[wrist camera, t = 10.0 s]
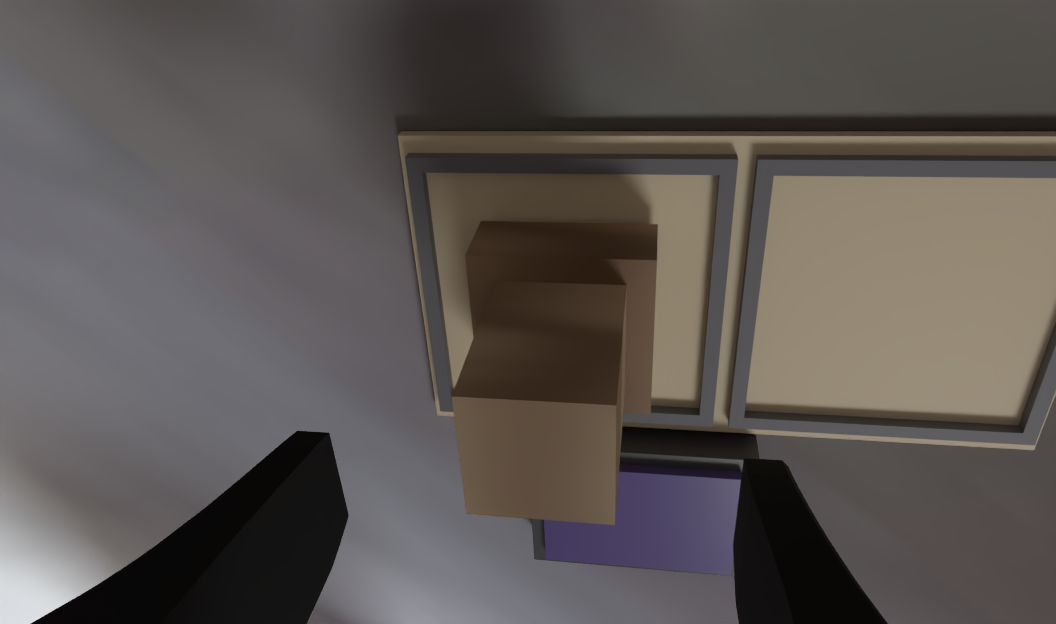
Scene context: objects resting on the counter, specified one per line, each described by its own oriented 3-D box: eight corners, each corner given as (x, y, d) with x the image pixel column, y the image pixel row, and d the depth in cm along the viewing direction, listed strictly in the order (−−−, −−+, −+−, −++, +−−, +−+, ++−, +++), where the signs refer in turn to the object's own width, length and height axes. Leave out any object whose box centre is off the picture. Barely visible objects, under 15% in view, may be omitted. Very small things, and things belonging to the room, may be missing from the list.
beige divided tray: (440, 408, 22) (434, 422, 21) (401, 131, 18) (393, 140, 17) (1029, 441, 19) (1039, 458, 19) (1146, 131, 15) (1162, 141, 15)
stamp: (496, 356, 20) (439, 533, 15) (483, 215, 18) (412, 366, 13) (652, 363, 20) (646, 550, 15) (658, 218, 17) (654, 378, 12)
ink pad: (539, 533, 24) (532, 567, 23) (532, 422, 22) (525, 454, 20) (740, 549, 23) (744, 586, 22) (755, 435, 21) (760, 469, 20)
